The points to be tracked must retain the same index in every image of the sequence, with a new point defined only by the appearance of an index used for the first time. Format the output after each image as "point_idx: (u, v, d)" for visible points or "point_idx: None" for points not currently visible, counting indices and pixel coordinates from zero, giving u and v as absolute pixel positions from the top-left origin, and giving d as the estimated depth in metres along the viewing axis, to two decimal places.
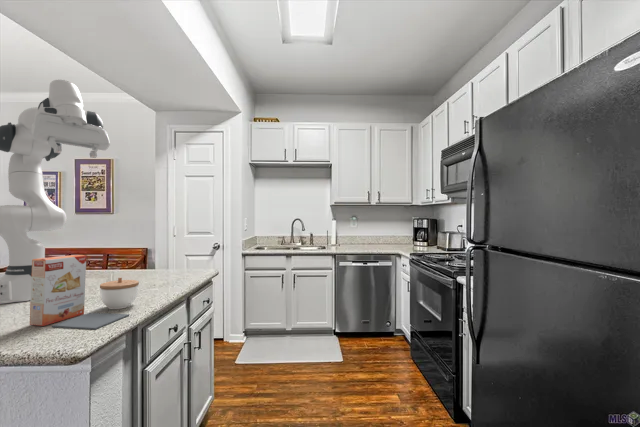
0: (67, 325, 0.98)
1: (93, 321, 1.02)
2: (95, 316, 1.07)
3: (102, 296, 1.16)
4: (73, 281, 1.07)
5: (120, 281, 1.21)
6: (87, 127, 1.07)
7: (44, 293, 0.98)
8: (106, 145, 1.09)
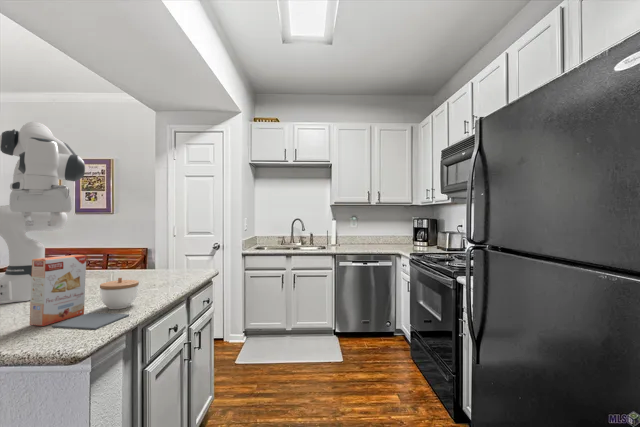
0: (67, 325, 0.98)
1: (93, 321, 1.02)
2: (95, 316, 1.07)
3: (102, 296, 1.16)
4: (73, 281, 1.07)
5: (120, 281, 1.21)
6: (46, 193, 1.05)
7: (44, 293, 0.98)
8: (60, 212, 1.05)
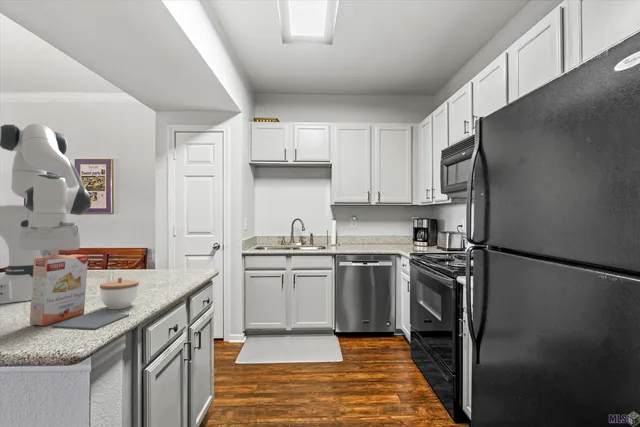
0: (67, 325, 0.98)
1: (93, 321, 1.02)
2: (95, 316, 1.07)
3: (102, 296, 1.16)
4: (74, 281, 1.07)
5: (120, 281, 1.21)
6: (55, 231, 1.04)
7: (45, 293, 0.98)
8: None
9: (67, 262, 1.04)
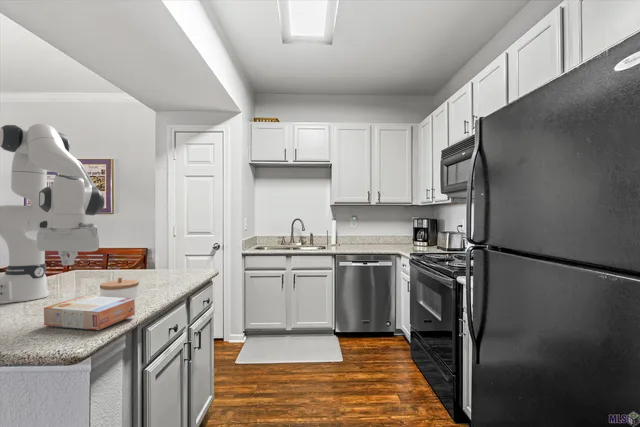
0: None
1: None
2: None
3: (102, 296, 1.16)
4: None
5: (120, 281, 1.21)
6: (74, 232, 1.03)
7: None
8: None
9: None
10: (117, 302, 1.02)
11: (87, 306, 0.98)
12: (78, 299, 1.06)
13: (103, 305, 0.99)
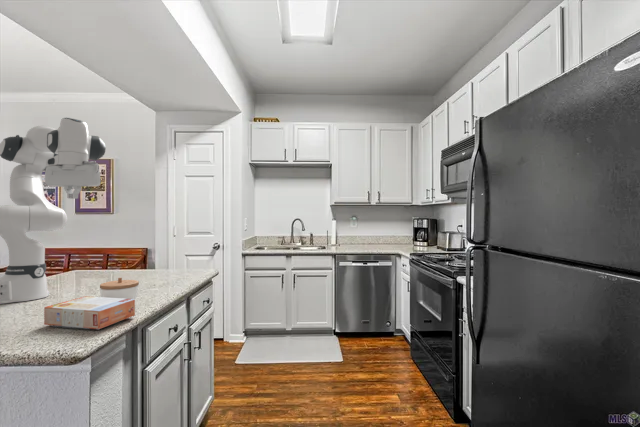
0: None
1: None
2: None
3: (102, 296, 1.16)
4: None
5: (120, 281, 1.21)
6: (78, 168, 1.16)
7: (70, 326, 0.96)
8: (91, 185, 1.16)
9: None
10: (117, 302, 1.03)
11: (87, 306, 0.98)
12: (78, 299, 1.06)
13: (103, 305, 0.99)
